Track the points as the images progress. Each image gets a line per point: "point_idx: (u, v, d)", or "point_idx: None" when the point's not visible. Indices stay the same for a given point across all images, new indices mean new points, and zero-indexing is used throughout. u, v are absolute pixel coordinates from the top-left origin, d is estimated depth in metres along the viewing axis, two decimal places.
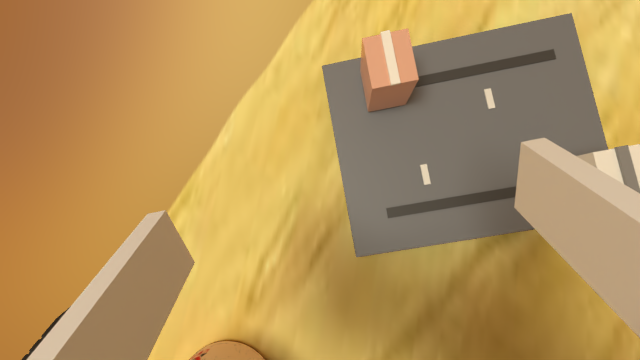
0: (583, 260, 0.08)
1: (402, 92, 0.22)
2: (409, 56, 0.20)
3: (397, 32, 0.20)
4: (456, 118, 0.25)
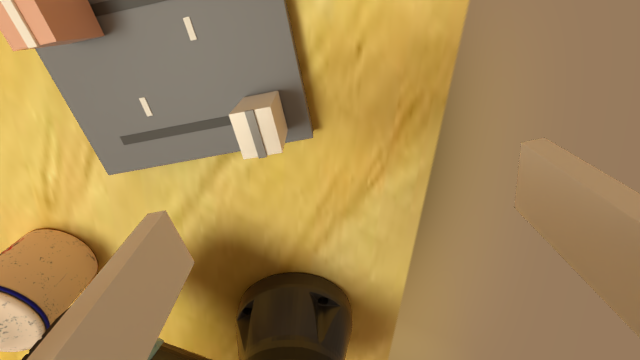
0: (583, 260, 0.08)
1: (67, 41, 0.21)
2: (36, 13, 0.19)
3: None
4: (162, 50, 0.25)
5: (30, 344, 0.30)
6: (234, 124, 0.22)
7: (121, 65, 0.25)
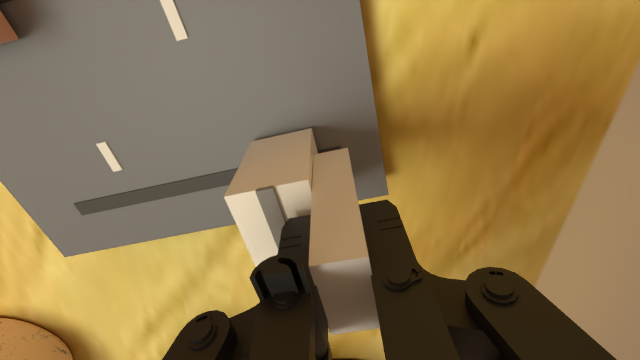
0: None
1: None
2: None
3: None
4: (128, 60, 0.14)
5: None
6: (236, 213, 0.11)
7: (59, 90, 0.14)
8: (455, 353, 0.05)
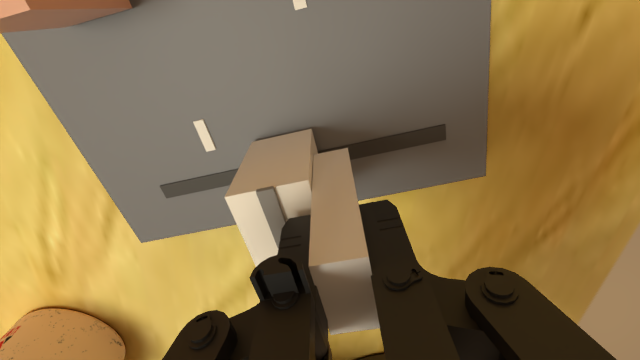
0: None
1: (59, 15, 0.10)
2: None
3: None
4: (239, 32, 0.13)
5: None
6: (236, 213, 0.11)
7: (163, 64, 0.14)
8: (455, 352, 0.05)
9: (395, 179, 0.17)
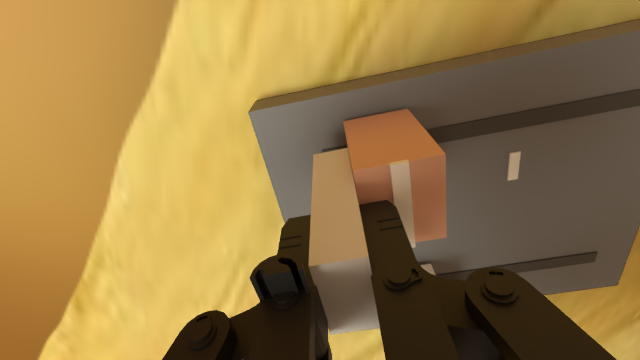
0: None
1: None
2: (438, 202, 0.11)
3: (423, 160, 0.10)
4: (459, 191, 0.17)
5: None
6: None
7: None
8: (455, 353, 0.05)
9: (544, 286, 0.20)
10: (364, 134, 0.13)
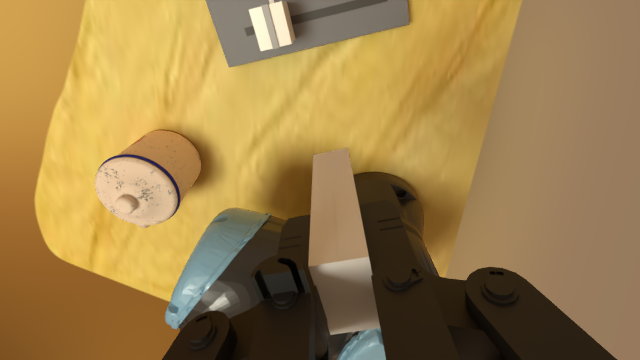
0: None
1: None
2: None
3: None
4: None
5: (164, 215, 0.36)
6: (253, 18, 0.28)
7: None
8: (455, 352, 0.05)
9: (363, 25, 0.33)
10: None
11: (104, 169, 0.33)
